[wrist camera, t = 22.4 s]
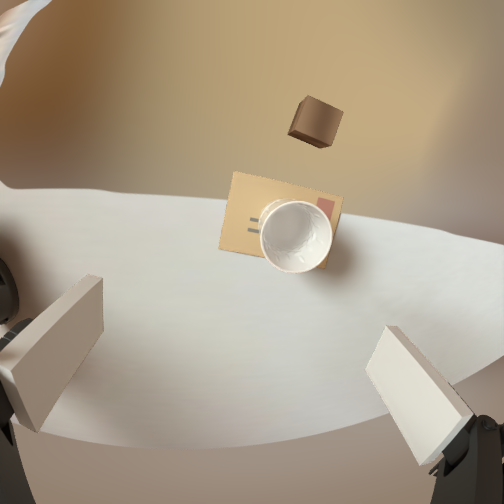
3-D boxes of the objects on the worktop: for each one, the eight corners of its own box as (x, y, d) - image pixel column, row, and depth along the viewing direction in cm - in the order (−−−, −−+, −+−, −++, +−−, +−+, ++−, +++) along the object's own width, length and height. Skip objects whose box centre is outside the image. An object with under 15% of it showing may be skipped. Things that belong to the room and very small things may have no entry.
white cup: (299, 255, 41) (318, 280, 31) (247, 241, 40) (251, 263, 30) (316, 203, 39) (342, 213, 29) (263, 187, 38) (272, 191, 28)
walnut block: (287, 134, 36) (294, 129, 32) (299, 103, 35) (307, 95, 30) (319, 148, 37) (331, 145, 32) (331, 118, 36) (343, 111, 31)
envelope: (218, 248, 40) (218, 248, 40) (234, 171, 37) (233, 171, 37) (323, 268, 42) (324, 268, 42) (343, 197, 39) (343, 197, 39)
